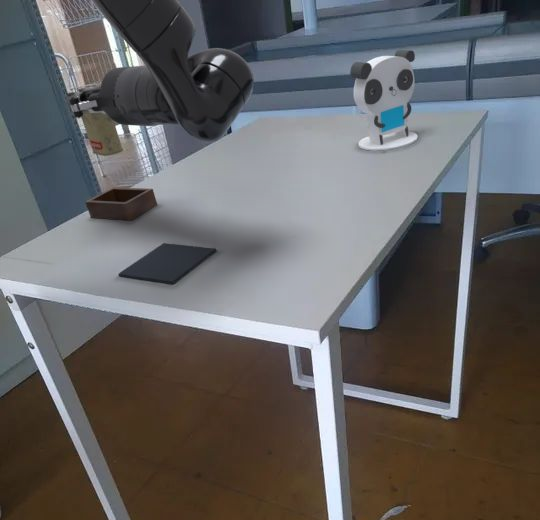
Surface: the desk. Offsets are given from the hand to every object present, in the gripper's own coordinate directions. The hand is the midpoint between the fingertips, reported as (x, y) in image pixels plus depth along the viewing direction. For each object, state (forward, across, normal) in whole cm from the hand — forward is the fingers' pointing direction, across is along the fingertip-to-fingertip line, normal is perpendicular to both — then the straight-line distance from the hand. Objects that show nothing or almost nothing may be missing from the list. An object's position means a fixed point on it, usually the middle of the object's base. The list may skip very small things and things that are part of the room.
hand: (81, 97), depth 87 cm
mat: (-27, +9, +20) cm, 34 cm away
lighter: (-3, 0, +9) cm, 9 cm away
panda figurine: (-24, -47, +20) cm, 57 cm away
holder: (+1, -1, +20) cm, 20 cm away
